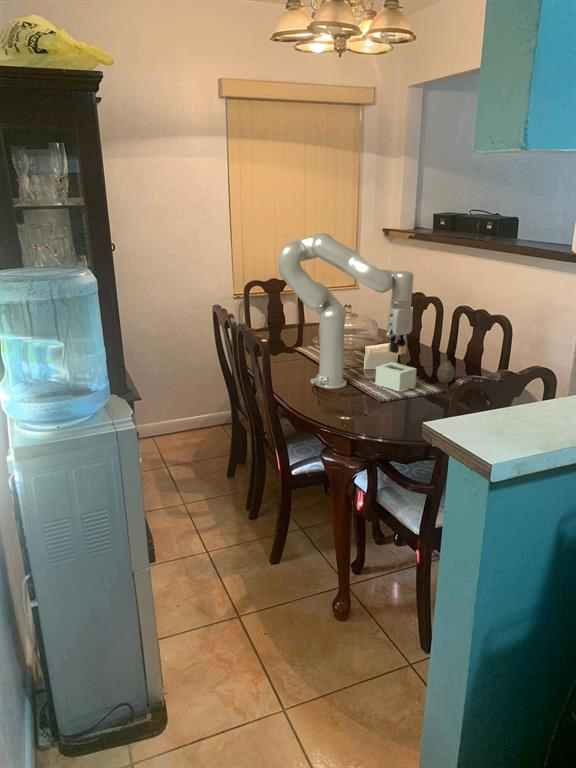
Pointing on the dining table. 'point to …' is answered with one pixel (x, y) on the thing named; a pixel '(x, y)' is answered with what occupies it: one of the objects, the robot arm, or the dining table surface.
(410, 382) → the coin box
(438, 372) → the vase
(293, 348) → the dining table surface
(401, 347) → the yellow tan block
